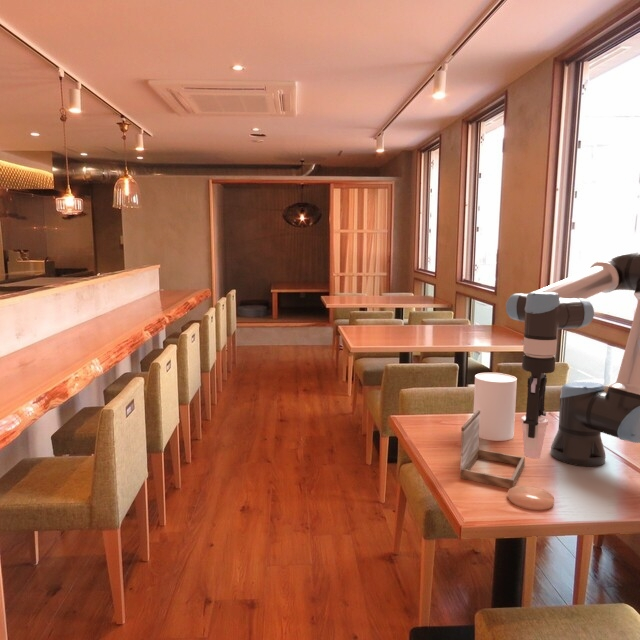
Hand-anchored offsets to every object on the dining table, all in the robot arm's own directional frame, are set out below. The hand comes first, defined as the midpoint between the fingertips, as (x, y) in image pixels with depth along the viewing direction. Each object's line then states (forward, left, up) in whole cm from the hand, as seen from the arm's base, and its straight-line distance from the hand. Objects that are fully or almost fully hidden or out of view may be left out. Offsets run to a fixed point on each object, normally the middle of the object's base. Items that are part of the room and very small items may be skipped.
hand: (533, 444), depth 135 cm
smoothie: (0, 0, -3) cm, 3 cm away
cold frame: (+12, -13, -15) cm, 23 cm away
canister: (+19, -45, -15) cm, 51 cm away
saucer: (0, 0, -15) cm, 15 cm away
